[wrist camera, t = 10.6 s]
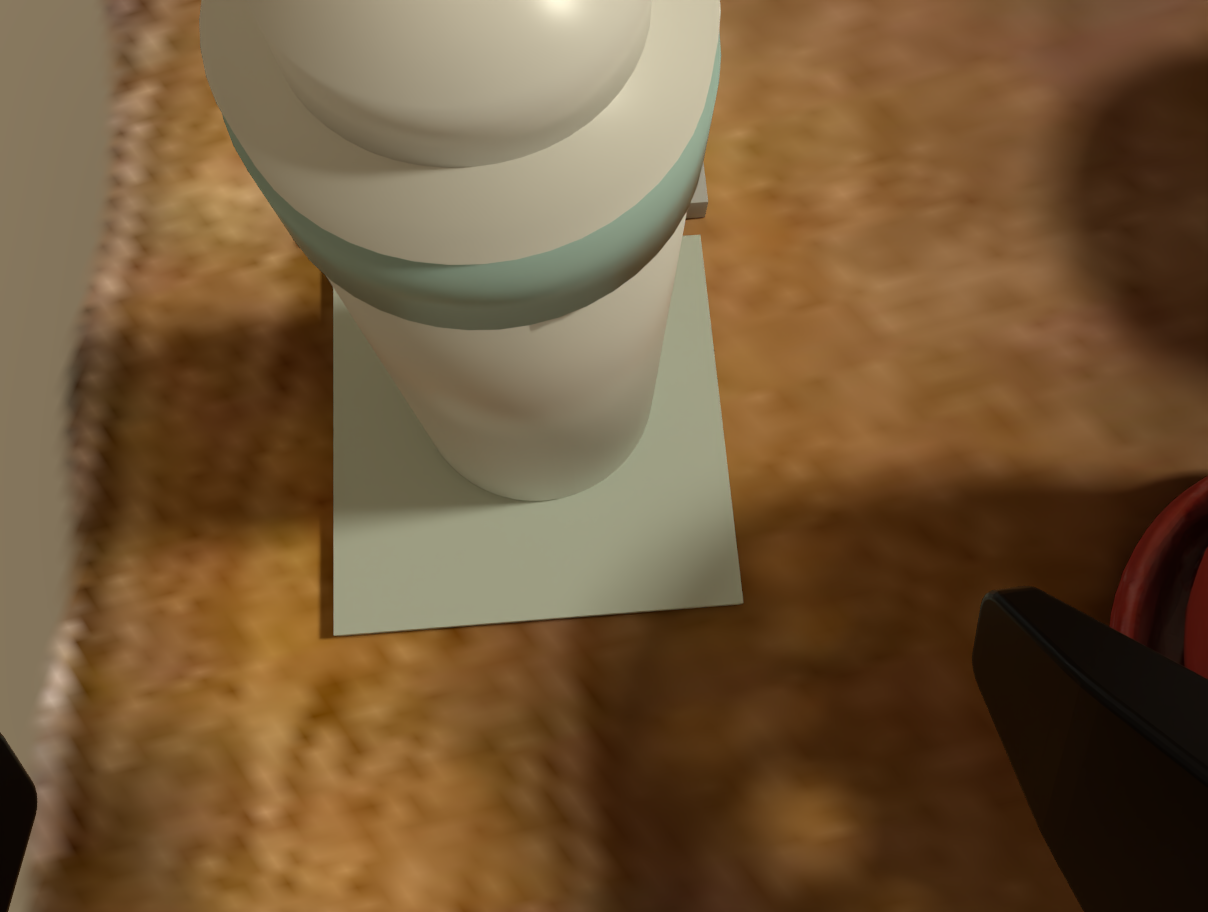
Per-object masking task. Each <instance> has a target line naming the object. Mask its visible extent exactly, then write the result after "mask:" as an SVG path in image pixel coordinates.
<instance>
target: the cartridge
mask: <svg viewBox="0 0 1208 912" xmlns="http://www.w3.org/2000/svg"><path fill="white" fill-rule="evenodd" d="M720 13H721V9H720V0H202V2H201V10H200V19H199V23H200V48H201V53H202V58H203V63H204V68H205V73H206V77H207V80H208V82H209V85H210V88H211V90H212V93H213V95H214V98H215V101H216V103H217V105H218V107H219V109H220V110H221V112H222V115H223V119H224V122H225V124H226V127H227V130H228V132H229V135H230V138H231V140H232V143H233V145H234V147H235V149H236V151H237V153H238V154H239V156H240V158H241V160H242V161H243V163H244V165H245V167H246V168H247V170H248V172H249V173H250V175H251V176H252V178H253V179H254V181H255V182H256V184H257V185H258V187H259V188H260V190H261V191H262V193H263V194H264V196H265V197H266V199H267V200H268V202H269V203H270V205H271V206H272V208H273V209H274V211H275V212H276V214H277V215H278V217H279V218H280V220H281V221H282V223H283V224H284V226H285V227H286V229H287V230H288V232H289V233H290V235H291V236H292V238H293V239H294V241H295V242H296V243H297V245H298V246H299V247H300V248H301V250H302V251H303V252H304V253H305V255H306V256H307V257H308V258H309V260H310V261H311V262H312V263H313V264H314V265H315V266H316V267H317V268H318V269H319V270H320V271H322V272H323V273H324V274H325V275H326V277H327V278H328V280H329V281H330V283H331V285H332V286H333V288H334V289H335V291H336V292H337V294H338V295H339V297H340V299H341V300H342V302H343V303H344V305H345V306H346V308H347V309H348V311H349V312H350V314H351V316H352V317H353V319H354V320H355V322H356V323H357V325H358V326H359V328H360V330H361V331H362V333H363V334H364V336H365V337H366V339H367V340H368V342H369V343H370V345H371V347H372V348H373V350H374V351H375V353H376V354H377V356H378V357H379V359H380V361H381V362H382V364H383V365H384V367H385V368H386V370H387V371H388V373H389V375H390V376H391V378H392V379H393V381H394V382H395V384H396V385H397V387H398V388H399V390H400V392H401V393H402V395H403V396H404V398H405V399H406V401H407V402H408V404H409V406H410V407H411V409H412V410H413V412H414V413H415V415H416V416H417V418H418V419H419V421H420V423H421V424H422V426H423V427H424V429H425V430H426V432H427V433H428V435H429V437H430V438H431V440H432V441H433V443H434V444H435V446H436V447H437V449H438V450H439V452H440V453H441V455H442V456H443V457H444V458H445V460H446V461H447V462H448V463H449V464H450V465H451V466H452V467H453V468H454V469H455V470H456V471H457V472H458V473H459V474H460V475H461V476H463V477H464V478H466V479H467V480H468V481H470V482H471V483H473V484H475V485H476V486H478V487H480V488H482V489H484V490H486V491H489V492H491V493H494V494H496V495H499V496H503V497H507V498H511V499H517V500H527V501H545V500H552V499H559V498H563V497H567V496H570V495H574V494H577V493H579V492H582V491H584V490H586V489H589V488H591V487H592V486H594V485H596V484H598V483H599V482H601V481H603V480H604V479H605V478H607V477H608V476H609V475H611V474H612V473H613V472H614V471H616V470H617V469H618V468H619V467H620V466H621V465H622V464H623V463H624V462H625V461H626V459H627V458H628V457H629V455H630V454H631V453H632V451H633V450H634V449H635V447H636V446H637V444H638V442H639V440H640V438H641V437H642V435H643V432H644V430H645V427H646V425H647V422H648V418H649V414H650V410H651V406H652V400H653V395H654V389H655V384H656V378H657V373H658V367H659V362H660V356H661V351H662V345H663V340H664V334H665V329H666V323H667V318H668V312H669V307H670V301H671V296H672V290H673V285H674V279H675V274H676V269H677V263H678V258H679V252H680V247H681V241H682V236H683V230H684V225H685V219H686V214H687V210H688V208H689V205H690V203H691V200H692V198H693V195H694V193H695V191H696V188H697V185H698V181H699V177H700V173H701V169H702V165H703V161H704V155H705V150H706V145H707V140H708V135H709V130H710V125H711V120H712V115H713V109H714V104H715V99H716V94H717V89H718V84H719V74H720V62H721V48H720V34H719V25H720Z"/></svg>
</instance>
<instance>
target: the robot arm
mask: <svg viewBox="0 0 1208 912" xmlns="http://www.w3.org/2000/svg"><path fill="white" fill-rule="evenodd" d="M972 665H973V671H974V675H975V679H976V681H977V684H978V686H979V689H980V691H981V694H982V696H983V698H984V701H985V703H986V705H987V708H988V710H989V713H990V715H991V717H992V720H993V722H994V724H995V727H996V729H997V731H998V734H999V736H1000V739H1001V741H1002V743H1003V746H1004V748H1005V750H1006V753H1007V755H1008V757H1009V760H1010V762H1011V765H1012V767H1013V769H1014V772H1015V774H1016V776H1017V779H1018V781H1019V783H1020V786H1021V788H1022V791H1023V793H1024V795H1025V798H1026V800H1027V802H1028V805H1029V807H1030V809H1031V812H1032V814H1033V816H1034V818H1035V820H1036V823H1037V825H1038V827H1039V829H1040V831H1041V833H1042V835H1043V837H1044V839H1045V841H1046V843H1047V845H1048V847H1049V849H1050V851H1051V853H1052V854H1053V856H1054V858H1055V860H1056V862H1057V864H1058V866H1059V867H1060V869H1061V871H1062V873H1063V875H1064V876H1065V878H1066V880H1067V882H1068V884H1069V885H1070V887H1071V889H1072V891H1073V893H1074V895H1075V896H1076V898H1077V900H1078V902H1079V904H1080V905H1081V907H1082V909H1083V911H1084V912H1208V679H1207V678H1205V677H1203V676H1201V675H1199V674H1197V673H1195V672H1194V671H1192V670H1190V669H1188V668H1186V667H1184V666H1182V665H1180V664H1179V663H1177V662H1175V661H1173V660H1171V659H1169V658H1167V657H1165V656H1164V655H1162V654H1160V653H1158V652H1156V651H1154V650H1152V649H1150V648H1149V647H1147V646H1145V645H1143V644H1141V643H1139V642H1137V641H1135V640H1134V639H1132V638H1130V637H1128V636H1126V635H1124V634H1122V633H1120V632H1119V631H1117V630H1115V629H1113V628H1111V627H1109V626H1107V625H1105V624H1104V623H1102V622H1100V621H1098V620H1096V619H1094V618H1092V617H1090V616H1089V615H1087V614H1085V613H1083V612H1081V611H1079V610H1077V609H1076V608H1074V607H1072V606H1070V605H1068V604H1066V603H1064V602H1062V601H1061V600H1059V599H1057V598H1055V597H1053V596H1051V595H1049V594H1047V593H1046V592H1044V591H1042V590H1040V589H1037V588H1035V587H1032V586H1018V587H1011V588H1004V589H996V590H992V591H990V592H988V593H987V594H986V595H985V596H984V598H983V599H982V603H981V607H980V613H979V619H978V624H977V630H976V636H975V642H974V648H973V655H972ZM36 811H37V793H36V789H35V785H34V783H33V781H32V780H31V778H30V777H29V775H28V774H27V772H26V771H25V769H24V767H23V766H22V764H21V763H20V761H19V760H18V758H17V757H16V755H15V753H14V752H13V750H12V749H11V747H10V746H9V744H8V743H7V741H6V739H5V738H4V736H3V735H2V734H1V733H0V912H8V910H9V906H10V903H11V899H12V896H13V892H14V889H15V885H16V882H17V878H18V875H19V872H20V868H21V865H22V861H23V858H24V854H25V851H26V847H27V844H28V840H29V837H30V833H31V830H32V826H33V823H34V819H35V816H36Z"/></svg>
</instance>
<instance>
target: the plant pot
mask: <svg viewBox="0 0 1208 912" xmlns="http://www.w3.org/2000/svg"><path fill="white" fill-rule="evenodd" d="M1109 627H1111V628H1113V629H1115V630H1117V631H1119V632H1120V633H1122V634H1124V635H1126V636H1128V637H1130V638H1132V639H1134V640H1135V641H1137V642H1139V643H1141V644H1143V645H1145V646H1147V647H1149V648H1150V649H1152V650H1154V651H1156V652H1158V653H1160V654H1162V655H1164V656H1165V657H1167V658H1169V659H1171V660H1173V661H1175V662H1177V663H1179V664H1180V665H1182V666H1184V667H1186V668H1188V669H1190V670H1192V671H1194V672H1195V673H1197V674H1199V675H1201V676H1203V677H1205V678H1207V679H1208V476H1207V477H1205V478H1203V479H1202V480H1200V481H1199V482H1197V483H1195V484H1194V485H1192V486H1191V487H1189V488H1188V489H1187V490H1185V491H1184V492H1183V493H1181V494H1180V495H1179V496H1178V497H1177V498H1175V499H1174V500H1173V501H1172V502H1171V503H1170V504H1169V505H1168V506H1167V507H1166V508H1165V509H1164V510H1163V511H1162V512H1161V513H1160V514H1159V515H1158V516H1157V517H1156V518H1155V520H1154V521H1153V522H1152V523H1151V525H1150V526H1149V527H1148V528H1147V530H1146V531H1145V533H1144V534H1143V536H1142V537H1141V539H1140V541H1139V542H1138V544H1137V545H1136V547H1135V549H1134V551H1133V553H1132V555H1131V557H1130V559H1129V561H1128V563H1127V565H1126V567H1125V569H1124V571H1123V573H1122V576H1121V580H1120V583H1119V586H1118V588H1117V591H1116V594H1115V598H1114V602H1113V607H1112V611H1111V617H1110V626H1109Z"/></svg>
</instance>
